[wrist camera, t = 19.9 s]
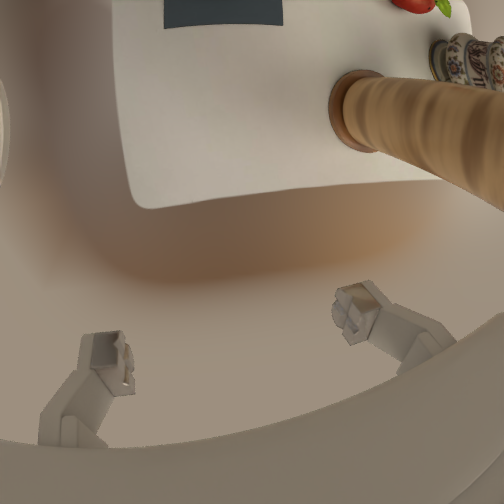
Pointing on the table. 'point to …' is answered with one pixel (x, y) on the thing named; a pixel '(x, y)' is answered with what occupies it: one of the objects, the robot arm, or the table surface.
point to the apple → (424, 6)
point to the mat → (222, 12)
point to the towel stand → (426, 127)
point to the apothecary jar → (469, 61)
